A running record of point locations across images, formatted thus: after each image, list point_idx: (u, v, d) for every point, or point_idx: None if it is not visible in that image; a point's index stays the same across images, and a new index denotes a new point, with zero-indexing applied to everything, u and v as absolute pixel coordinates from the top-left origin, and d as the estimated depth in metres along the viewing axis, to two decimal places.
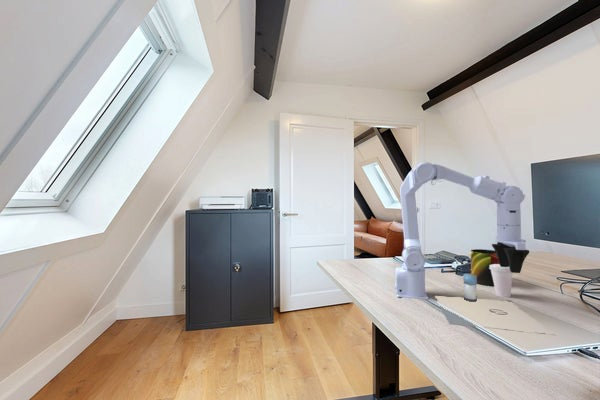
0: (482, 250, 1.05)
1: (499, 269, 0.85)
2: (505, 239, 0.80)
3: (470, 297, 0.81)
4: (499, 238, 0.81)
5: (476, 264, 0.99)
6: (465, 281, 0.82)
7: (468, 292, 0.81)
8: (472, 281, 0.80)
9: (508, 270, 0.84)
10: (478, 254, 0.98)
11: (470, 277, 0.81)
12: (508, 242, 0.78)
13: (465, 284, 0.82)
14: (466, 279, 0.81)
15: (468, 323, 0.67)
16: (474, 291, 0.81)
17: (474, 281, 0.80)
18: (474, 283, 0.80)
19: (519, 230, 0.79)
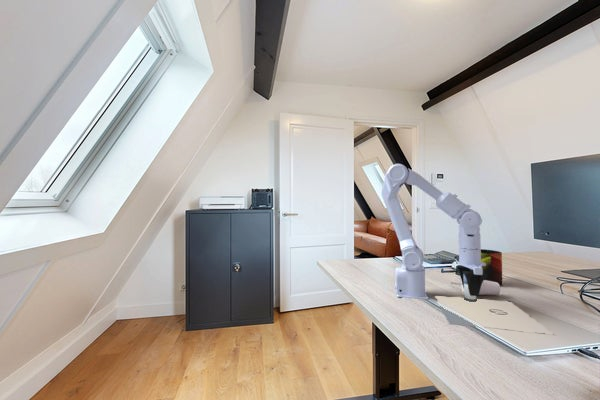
0: (482, 250, 1.05)
1: None
2: (465, 262, 0.80)
3: (470, 297, 0.81)
4: (460, 261, 0.82)
5: None
6: (465, 281, 0.82)
7: (468, 292, 0.81)
8: None
9: None
10: None
11: None
12: (467, 266, 0.79)
13: (465, 284, 0.82)
14: None
15: (468, 323, 0.67)
16: None
17: None
18: None
19: (479, 254, 0.80)
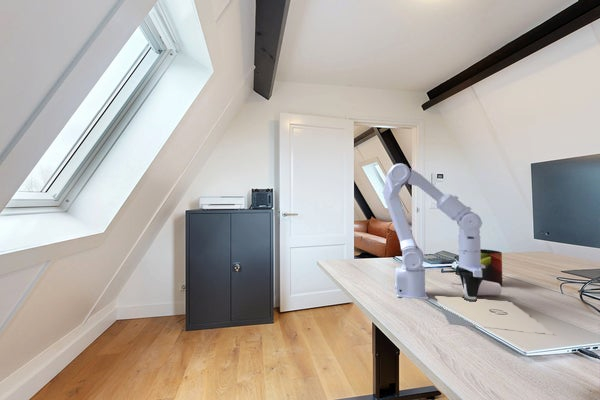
0: (482, 250, 1.05)
1: None
2: (465, 265, 0.80)
3: (470, 297, 0.81)
4: (460, 263, 0.82)
5: None
6: None
7: None
8: None
9: None
10: None
11: None
12: (467, 268, 0.79)
13: (465, 284, 0.82)
14: None
15: (468, 323, 0.67)
16: None
17: None
18: None
19: (478, 256, 0.80)
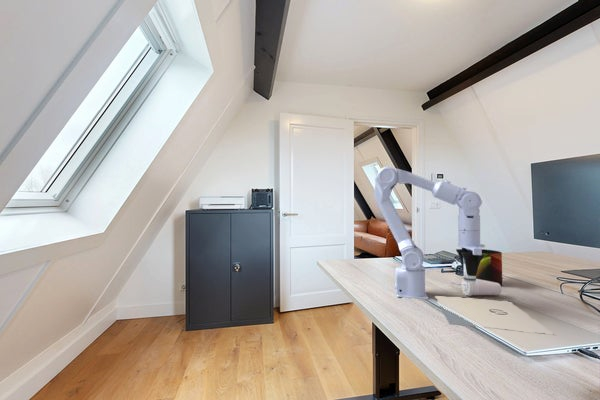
0: (482, 250, 1.05)
1: (468, 295, 0.86)
2: (464, 244, 0.81)
3: (469, 276, 0.81)
4: (459, 243, 0.82)
5: None
6: None
7: None
8: None
9: (471, 291, 0.85)
10: None
11: None
12: (467, 247, 0.79)
13: None
14: None
15: (468, 323, 0.67)
16: None
17: None
18: None
19: (478, 235, 0.80)
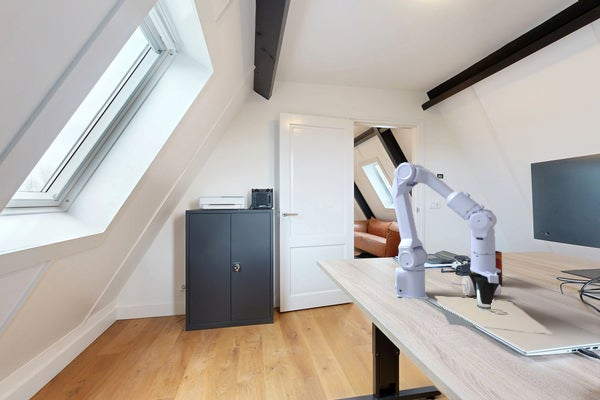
0: None
1: (468, 295, 0.86)
2: (478, 269, 0.73)
3: (484, 304, 0.73)
4: (472, 267, 0.75)
5: None
6: None
7: None
8: None
9: (471, 291, 0.85)
10: None
11: None
12: (481, 273, 0.71)
13: (478, 290, 0.74)
14: None
15: (468, 323, 0.67)
16: None
17: None
18: None
19: (493, 259, 0.72)
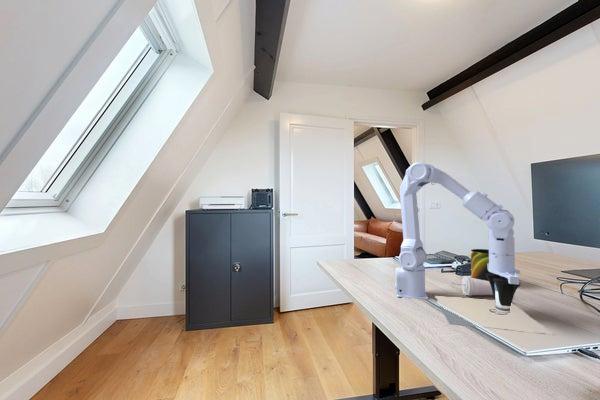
0: (482, 250, 1.05)
1: (468, 295, 0.86)
2: (497, 270, 0.72)
3: (503, 306, 0.72)
4: (491, 268, 0.73)
5: (476, 264, 0.99)
6: None
7: None
8: None
9: (471, 291, 0.85)
10: (478, 254, 0.99)
11: None
12: (500, 274, 0.70)
13: (497, 291, 0.73)
14: None
15: (468, 323, 0.67)
16: None
17: None
18: None
19: (513, 260, 0.71)
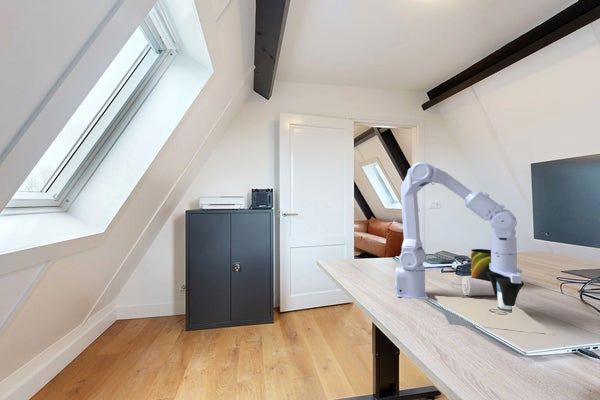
0: (482, 250, 1.05)
1: (468, 295, 0.86)
2: (499, 269, 0.72)
3: (505, 306, 0.73)
4: (493, 267, 0.74)
5: (476, 264, 0.99)
6: (499, 289, 0.74)
7: (502, 301, 0.73)
8: None
9: (471, 291, 0.85)
10: (478, 254, 0.99)
11: None
12: (502, 273, 0.71)
13: (499, 292, 0.74)
14: None
15: (468, 323, 0.67)
16: None
17: None
18: None
19: (515, 259, 0.71)
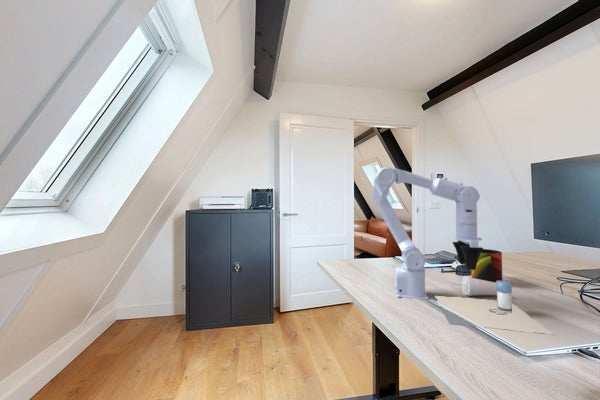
0: None
1: (468, 295, 0.86)
2: (462, 237, 0.83)
3: (505, 306, 0.73)
4: (457, 236, 0.85)
5: None
6: (499, 289, 0.74)
7: (502, 301, 0.73)
8: (507, 289, 0.72)
9: (471, 291, 0.85)
10: None
11: (505, 284, 0.73)
12: (464, 240, 0.81)
13: (499, 292, 0.74)
14: (500, 287, 0.73)
15: (468, 323, 0.67)
16: (510, 300, 0.73)
17: (509, 289, 0.73)
18: (509, 291, 0.73)
19: (475, 228, 0.82)
